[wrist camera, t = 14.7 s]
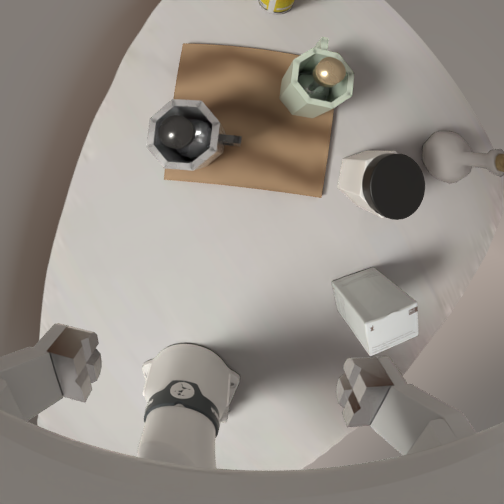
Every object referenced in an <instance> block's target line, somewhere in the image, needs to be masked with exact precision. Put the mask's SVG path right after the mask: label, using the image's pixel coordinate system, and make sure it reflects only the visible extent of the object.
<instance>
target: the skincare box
mask: <svg viewBox="0 0 504 504" xmlns="http://www.w3.org/2000/svg"><path fill="white" fill-rule="evenodd" d="M332 286H333V291H334V296H335V301H336V306H337V310H338V312H339V313H340V314H341V316H342V317H343V319H344V320H345V321H346V323H347V324H348V326H349V327H350V328H351V330H352V331H353V333H354V334H355V336H356V337H357V339H358V340H359V341H360V343H361V344H362V346H363V347H364V348H365V350H366V351H367V353H368V354H369V356H372V355H375V354H377V353H380V352H382V351H384V350H387V349H389V348H391V347H394V346H396V345H398V344H400V343H403V342H405V341H407V340H409V339H411V338H414V337H416V336H418V310H417V301H415V300H414V299H413V298H412V297H410V296H409V295H408V294H407V293H405V292H404V291H403V290H402V289H400V288H399V287H398V286H397V285H395V284H394V283H393V282H392V281H390V280H389V279H388V278H386V277H385V276H384V275H383V274H381V273H380V272H379V271H378V270H376V269H375V268H374V267H372V268H369V269H366V270H364V271H361V272H358V273H355V274H352V275H349V276H346V277H344V278H341V279H338V280H335V281H332Z"/></svg>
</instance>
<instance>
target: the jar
mask: <svg viewBox="0 0 504 504" xmlns="http://www.w3.org/2000/svg"><path fill="white" fill-rule="evenodd" d="M337 188H338V189H339V190H340V191H341V192H342V193H343V194H345V195H346V196H347V197H348V198H349V199H350V200H351V201H352V202H353V203H354V204H355V205H356V206H358V207H360V208H362V209H364V210H366V211H368V212H370V213H372V214H374V215H377V216H379V217H381V218H385V217H386V218H389V219H395V220H399V219H404V218H407V217H409V216H410V215H412V214H413V213H414V212H415V211H416V210H417V209H418V207H419V206H420V204H421V202H422V200H423V197H424V192H425V181H424V176H423V173H422V171H421V169H420V167H419V166H418V164H417V163H416V162H415V161H414V160H413V159H412V158H410V157H408V156H406V155H403V154H398V153H397V152H396V151H364V152H361V153H358V154H355V155H352V156H349V157H346V158H343V159H342V163H341V169H340V175H339V181H338V186H337Z"/></svg>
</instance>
